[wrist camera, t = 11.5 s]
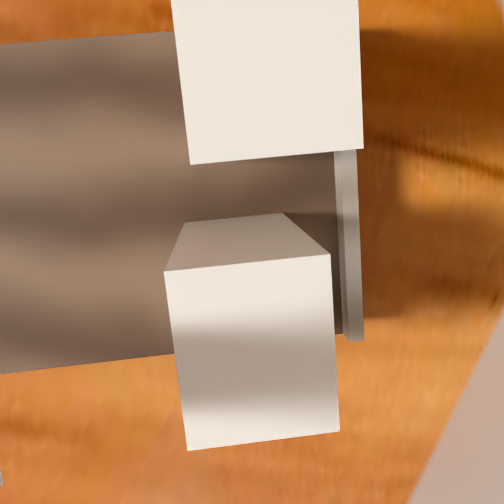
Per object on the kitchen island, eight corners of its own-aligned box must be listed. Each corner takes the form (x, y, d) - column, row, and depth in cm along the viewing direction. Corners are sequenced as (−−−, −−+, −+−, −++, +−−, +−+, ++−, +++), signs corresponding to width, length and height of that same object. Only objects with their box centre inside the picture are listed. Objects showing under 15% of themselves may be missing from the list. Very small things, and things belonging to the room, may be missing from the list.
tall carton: (198, 333, 25) (187, 450, 15) (184, 222, 23) (163, 271, 13) (294, 322, 25) (347, 430, 15) (286, 212, 24) (338, 253, 14)
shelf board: (-108, 63, 22) (-160, 48, 19) (332, 29, 24) (350, 10, 21) (-35, 363, 26) (-69, 392, 23) (347, 318, 27) (364, 340, 24)
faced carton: (200, 160, 23) (190, 165, 13) (185, 29, 21) (161, -75, 12) (305, 150, 23) (372, 147, 13) (296, 21, 22) (364, -88, 12)
